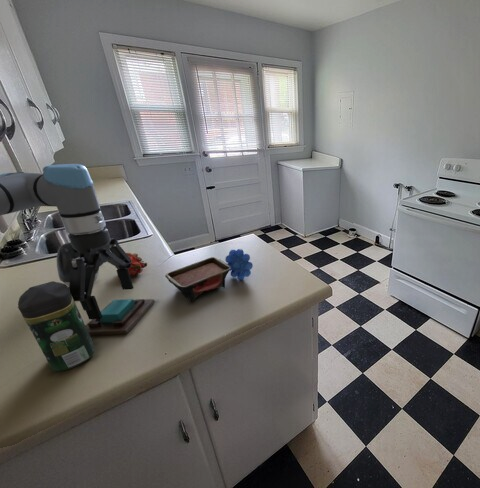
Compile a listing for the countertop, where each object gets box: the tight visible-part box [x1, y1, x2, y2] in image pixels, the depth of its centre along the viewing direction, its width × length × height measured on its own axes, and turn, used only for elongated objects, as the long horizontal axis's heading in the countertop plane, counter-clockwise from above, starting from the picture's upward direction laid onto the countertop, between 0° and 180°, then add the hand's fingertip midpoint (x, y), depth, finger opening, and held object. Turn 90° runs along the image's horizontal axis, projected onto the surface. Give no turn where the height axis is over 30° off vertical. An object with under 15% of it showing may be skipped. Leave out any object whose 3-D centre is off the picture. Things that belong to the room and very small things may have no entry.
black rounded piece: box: [56, 242, 100, 287], centre depth 90 cm, size 10×10×15 cm
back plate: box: [85, 298, 155, 336], centre depth 76 cm, size 14×12×2 cm
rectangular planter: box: [164, 256, 231, 304], centre depth 89 cm, size 14×18×10 cm
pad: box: [100, 298, 135, 323], centre depth 75 cm, size 7×5×3 cm
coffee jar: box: [17, 280, 95, 372], centre depth 60 cm, size 10×8×19 cm
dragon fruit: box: [114, 252, 148, 278], centre depth 98 cm, size 8×8×12 cm
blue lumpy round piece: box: [224, 248, 254, 281], centre depth 94 cm, size 12×7×12 cm, turn 65°
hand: (113, 302), depth 74 cm, fingers open, 13 cm apart
